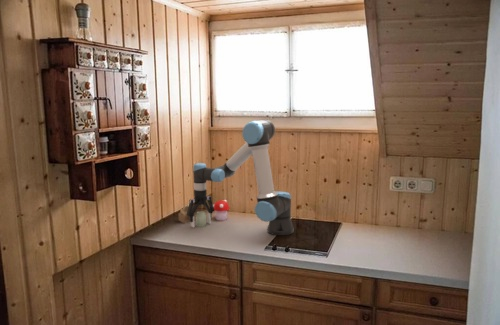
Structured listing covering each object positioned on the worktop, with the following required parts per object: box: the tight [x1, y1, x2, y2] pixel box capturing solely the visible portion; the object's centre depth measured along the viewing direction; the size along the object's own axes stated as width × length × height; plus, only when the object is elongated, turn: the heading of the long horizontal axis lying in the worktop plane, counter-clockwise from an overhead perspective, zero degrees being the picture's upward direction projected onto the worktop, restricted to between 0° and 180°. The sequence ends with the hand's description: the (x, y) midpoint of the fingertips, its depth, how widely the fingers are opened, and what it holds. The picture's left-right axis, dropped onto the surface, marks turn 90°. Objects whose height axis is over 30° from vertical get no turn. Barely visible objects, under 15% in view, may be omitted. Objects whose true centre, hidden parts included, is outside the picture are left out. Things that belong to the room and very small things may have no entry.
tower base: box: [178, 212, 196, 224], centre depth 268 cm, size 8×8×5 cm
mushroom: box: [213, 199, 230, 221], centre depth 271 cm, size 11×11×12 cm
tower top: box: [180, 204, 189, 215], centre depth 267 cm, size 5×5×5 cm
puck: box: [196, 210, 207, 228], centre depth 258 cm, size 5×5×8 cm
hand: (201, 225), depth 259 cm, fingers open, 11 cm apart
